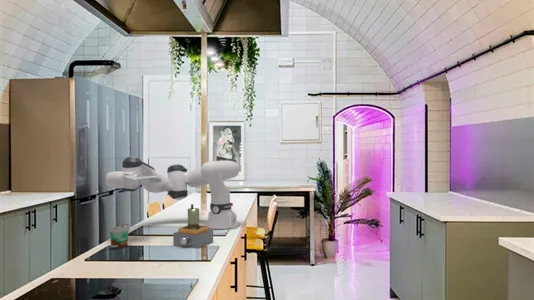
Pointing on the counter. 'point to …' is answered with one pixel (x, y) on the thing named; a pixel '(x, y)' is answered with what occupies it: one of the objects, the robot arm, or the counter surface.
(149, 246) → the counter surface
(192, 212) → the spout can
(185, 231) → the grey drawer box
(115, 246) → the food container
